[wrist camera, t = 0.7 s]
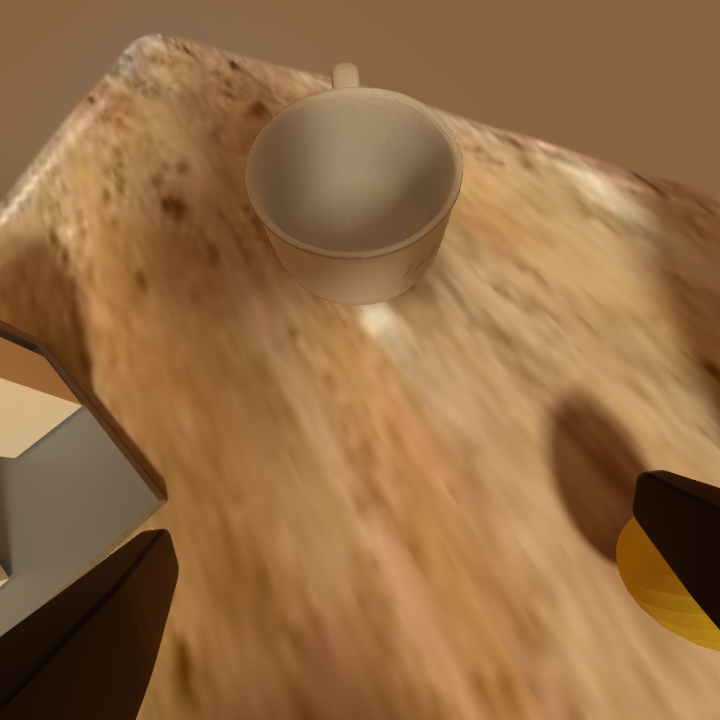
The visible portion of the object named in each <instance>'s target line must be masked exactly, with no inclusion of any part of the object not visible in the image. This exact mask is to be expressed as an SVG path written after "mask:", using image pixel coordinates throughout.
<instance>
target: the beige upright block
mask: <svg viewBox="0 0 720 720" xmlns="http://www.w3.org/2000/svg"><path fill="white" fill-rule="evenodd" d="M81 406H82V404H81V403H80V402H79V401H78V399H77V398H76V397H75V395H74V394H73V393H72V392H71V390H70V389H69V388H68V386H67V385H66V384H65V383H64V381H63V380H62V379H61V377H60V376H59V375H58V374H57V372H56V371H55V370H54V368H53V367H52V366H51V365H50V363H49V362H48V361H47V359H46V358H45V357H43V356H41V355H39V354H37V353H34V352H32V351H30V350H28V349H26V348H23V347H21V346H19V345H17V344H15V343H12V342H10V341H8V340H6V339H4V338H1V337H0V456H1V457H10V458H16V457H17V456H19V455H20V454H21V453H22V452H24V451H25V450H26V449H28V448H29V447H30V446H31V445H33V444H34V443H35V442H37V441H38V440H39V439H40V438H42V437H43V436H44V435H46V434H47V433H48V432H49V431H51V430H52V429H53V428H55V427H56V426H57V425H58V424H60V423H61V422H62V421H64V420H65V419H66V418H67V417H69V416H70V415H71V414H72V413H74V412H75V411H76V410H78V409H79V408H80V407H81Z"/></svg>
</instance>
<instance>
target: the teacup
mask: <svg viewBox="0 0 720 720" xmlns="http://www.w3.org/2000/svg"><path fill="white" fill-rule="evenodd" d="M331 79H332V89H330V90H326V91H323V92H319V93H316V94H314V95H311V96H307V97H305V98H303V99H301V100H298V101H296V102H294V103H292V104H290V105H289V106H287V107H286V108H284V109H283V110H282V111H280V112H279V113H278V114H276V115H275V116H274V117H273V118H272V119H271V120H270V121H269V122H268V123H267V124H266V125H265V126H264V127H263V128H262V130H261V131H260V133H259V134H258V135H257V137H256V139H255V140H254V142H253V144H252V147H251V149H250V151H249V153H248V155H247V160H246V165H245V173H244V177H245V186H246V191H247V195H248V198H249V202H250V204H251V206H252V208H253V210H254V212H255V214H256V215H257V217H258V218H259V220H260V221H261V223H262V225H263V227H264V229H265V232H266V234H267V236H268V238H269V240H270V242H271V245H272V246H273V248H274V250H275V252H276V254H277V256H278V258H279V260H280V261H281V263H282V265H283V266H284V268H285V269H286V270H287V272H288V273H289V274H290V275H291V277H292V278H293V279H294V280H295V281H296V282H297V283H298V284H300V285H301V286H302V287H303V288H304V289H306V290H307V291H309V292H310V293H312V294H314V295H316V296H318V297H320V298H322V299H324V300H327V301H331V302H335V303H338V304H344V305H368V304H374V303H378V302H382V301H385V300H388V299H391V298H393V297H395V296H397V295H399V294H401V293H403V292H404V291H406V290H407V289H408V288H410V287H411V286H412V285H413V284H415V283H416V282H417V281H418V280H419V279H420V278H421V277H422V276H423V274H424V273H425V272H426V271H427V269H428V268H429V266H430V265H431V263H432V261H433V260H434V258H435V256H436V254H437V251H438V249H439V247H440V244H441V241H442V239H443V236H444V233H445V230H446V227H447V224H448V221H449V217H450V214H451V210H452V208H453V206H454V204H455V202H456V199H457V197H458V195H459V192H460V188H461V183H462V178H463V162H462V154H461V152H460V147H459V144H458V143H457V142H456V138H455V137H454V135H453V133H452V130H451V129H450V128H449V127H448V125H447V124H446V123H445V121H444V120H443V119H442V118H441V117H440V116H439V115H438V114H437V113H435V112H434V111H433V110H431V109H430V108H429V107H428V106H426V105H424V104H423V103H421V102H419V101H418V100H416V99H414V98H411V97H408V96H406V95H404V94H401V93H398V92H394V91H390V90H386V89H377V88H365V87H359V77H358V69H357V67H356V65H354V64H352V63H340V64H337V65H335V66H334V67H333V68H332V70H331Z"/></svg>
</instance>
